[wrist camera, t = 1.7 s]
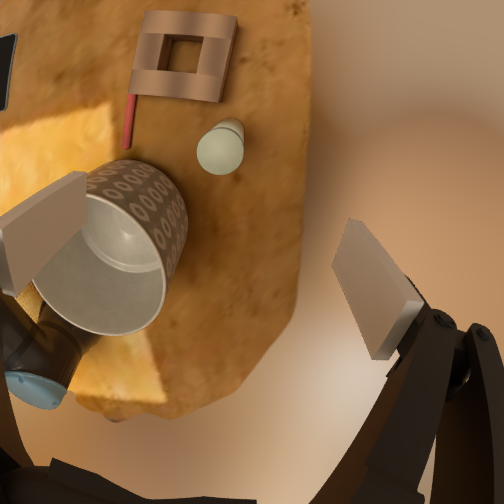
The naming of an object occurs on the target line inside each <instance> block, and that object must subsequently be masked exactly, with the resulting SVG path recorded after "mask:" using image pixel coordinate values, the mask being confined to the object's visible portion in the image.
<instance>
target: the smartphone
mask: <svg viewBox="0 0 504 504" xmlns="http://www.w3.org/2000/svg"><path fill="white" fill-rule="evenodd" d="M17 37H18V36H17V34H15V33H13V34H9V35H6V36H2V37H0V111H5V110H6V109H7V106H8V96H9V86H10V78H11V71H12V64H13V58H14V53H15V47H16V42H17Z"/></svg>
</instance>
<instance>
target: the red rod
mask: <svg viewBox="0 0 504 504" xmlns="http://www.w3.org/2000/svg"><path fill="white" fill-rule="evenodd" d="M135 101H136V94H128V101H127V108H126V115H125V124H124V133H123V142H122V147H123V149H125V150H126V149H129V147H130V140H131V131H132V123H133V115H134V108H135Z"/></svg>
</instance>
